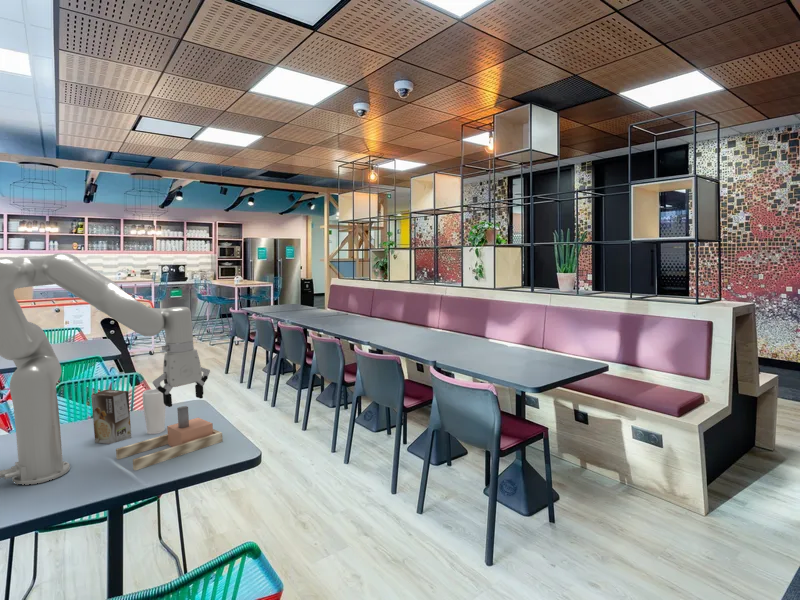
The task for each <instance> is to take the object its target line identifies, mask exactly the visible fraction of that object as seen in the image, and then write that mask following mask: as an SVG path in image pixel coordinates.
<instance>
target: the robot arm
mask: <svg viewBox="0 0 800 600" xmlns="http://www.w3.org/2000/svg"><path fill="white" fill-rule="evenodd" d="M51 285H56V286H58V287H60V288H61V289H64V290H65V291H66V292H69V293H70V294H72V295H73V296H75V297H77V298H79V299H80V300H82V301H83V302H86V303H87V304H89V305H90V306H93V307H94V308H96V309H97V310H98V311H99V312H102V313H103V314H105V315H107V316H109V317H110V318H112V319H113V320H115V321H116V322H118V323H120V324H121V325H123V326H124V327H126V328H128V329H130V330H132V331H133V332H135V333H137V334H138V335H141V336H144V337H154V336H157V335H158V334H160V333H161V332H162V331H164V332H165V345H163V346H162V347H161V351H162V352H166V353H164V356H163V357H164V358H163V365H162V366H163V367H162V369H163V370H162V371H163V372H162V374H161V375H159V376H158V377H157V378H155V379H154V380H153V381H152V382H151V383H152V385H153V386H154V387H155V389H157V390H159V391H160V392H161V393H163V400H164V404H165V407H168V408H171V407H172V406H173V399H172V394H171V393H170V392H171V391H172V389H173V388H176V387H181V386H185V385H189V384H194V383H195V385H194V387H195V388H194V389H195V397H196V398H197V399H198V398H199V399H203V398H204V396H203V395H204V385H205V382H206V381H207V380H208V378H209V375H210V373H211V370H210V369H209V368H205V367H202V366H201V361H200V360H201V359H200V357H199V354H198V350H197V349H194V348H195V347H194V346H195V345H194V335H193V322H192V312H191V308H190V307H187V306H172V307H168V308H161V307H160V308H159V307H157V308H156V307H148V306H146V305H144V304H143V303H141V302H140V301H138V299H136V298H134V297H133V296H131V295H129V294H128V293H127V292H125V290H123V289H122V288H121V287H120V286H119V285H118V284H117V283H116V282H115V281H113V280H111V278H108V277H107V276H106V275H103V274H101V273H100V272H99V271H97V270H95V269H93V268H92V267H90V266H88V265H87V264H86V263H84V262H82V260H80V259H79V258H78V257H77V256H75V255H73V254H70V253H65V252H58V253H54V254H50V255H36V256H19V257H18V256H16V257H15V256H14V257H12V256H1V257H0V357H1V358H3V359H5V360H9V361H12V362H13V363H14V365H15V367H16V369H15V371H14V372H13V374H12V375H11V377H10V382H9V393H10V396H11V402H12V406H13V417H14V424H15V438H16V446H17V447H16V448H17V449H16V450H17V458H18V460H17V461H16V462H15V463H14V465H13V466H11V467H10V468H7V469H3V470H0V479H4V480H8V479H12V480H13V481H12V480H11V481H12V483H13V482H15V483H16V484H15V483H14V484H15V485H18V484H22V485H21V486H28V485H29V484H31V485H37V483H38V484H42V483H46V482H49V480H50V481H52V479H53V480H55V479H58V478H59V477H61V476H62V477H63V476H64V475H65V474H66V473H68V472H69V471H70V470H71V465H70V462H68V461H64V460H63V459H64V458H63V447H62V435H61V434H62V433H61V420H60V419H61V418H60V411H59V409H60V408H59V401H58V394H57V383H58V381H59V380H60V378H61V377H62V366H61V363H60V361H59V359H58V357H57V355H56V353H55V351H54V349H53V347H52V345H51V343H50V341H49V338H48V337H47V335H46V333H45V332H44V330H43V329H42V327H41V326H39V325H38V324H36V323H33V322H30V321H28V319H27V318H26V316H25V314H24V311H23V309H22V307H21V305H20V304H19V302H18V300H17V299H16V297H15V290H16V289H21V288H22V289H23V288H31V287H43V286H51ZM162 382H163V384H164V386H162V385H161V383H162ZM24 484H25V485H24ZM29 486H30V485H29Z"/></svg>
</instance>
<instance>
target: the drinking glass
mask: <svg viewBox="0 0 800 600" xmlns="http://www.w3.org/2000/svg"><path fill="white" fill-rule="evenodd" d="M142 407H143V413H144V420H145V426H146V434H148V435H156V434H160V433H163V432H165V431H166V427H165V425H166V424H165V423H166V422H165V421H166V405H165V404H164V400H163V393H161V392H160V391H159V390H157V389H156V388H151V389H150V388H149V389H146V390H143V392H142Z"/></svg>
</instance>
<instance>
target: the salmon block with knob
mask: <svg viewBox="0 0 800 600" xmlns="http://www.w3.org/2000/svg"><path fill="white" fill-rule="evenodd" d="M176 410H177V423H174V424H170V425H167V426H166V427H167V428H166V429H167V434H168V444H167V445H168V446H169V447H170V448H171V447H174V446H177V445H180V444H184V443H187V442H190V441H193V440H196V439H199V438H203V437H206V436H209V435H212V434H213V429H214V426H213V422H210V421H207V420H205V419H203V418H200V417H196V418H192V419H189V415H190V414H189V406H187V405H184V406H179V407H177V409H176Z"/></svg>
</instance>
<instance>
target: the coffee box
mask: <svg viewBox="0 0 800 600" xmlns="http://www.w3.org/2000/svg"><path fill="white" fill-rule="evenodd" d="M129 395H130V394H129V390H119V389H117V390H115V389H104V390H101V391H99V392H98V391H97V392H96V393H92V394H91V407H92V420H93V422H92V423H93V432H94V443H96V444H105V445H106V444H107V445H112V444H115V443H119V442H122V441H126V440H130V439H132V425H131V415H130V414H131V412H130V411H131V410H130V397H129Z"/></svg>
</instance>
